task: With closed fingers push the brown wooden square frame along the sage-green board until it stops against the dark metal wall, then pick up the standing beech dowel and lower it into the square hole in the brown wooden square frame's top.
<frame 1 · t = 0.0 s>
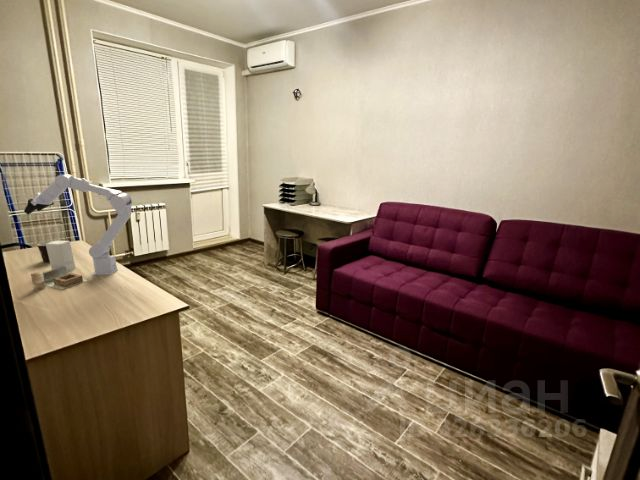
hand: (31, 211, 162), 32 cm above the table, tool tilted 50°, fingers open, 7 cm apart
dowel: (39, 289, 153), on the table
wall: (55, 279, 163), resting on board
skincare box: (63, 271, 175), on the table
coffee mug: (49, 261, 188), on the table
board: (64, 283, 161), on the table
brown wooden square frame: (68, 279, 159), point 2 cm above the table, slide at 0.0 cm
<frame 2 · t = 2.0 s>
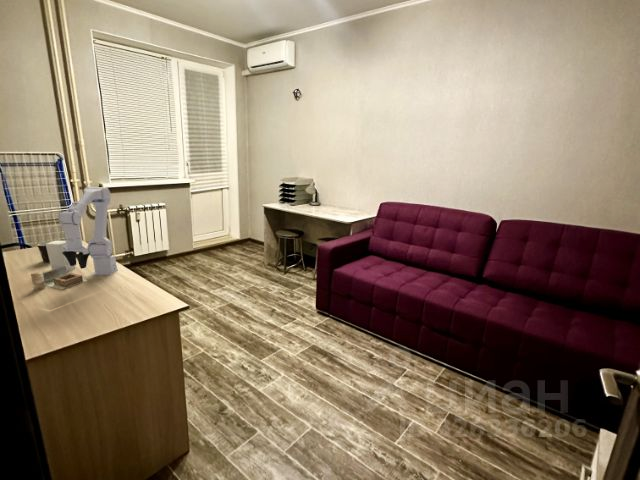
hand: (78, 266, 154), 10 cm above the table, tool pointing down, fingers open, 6 cm apart
nothing on the table moved.
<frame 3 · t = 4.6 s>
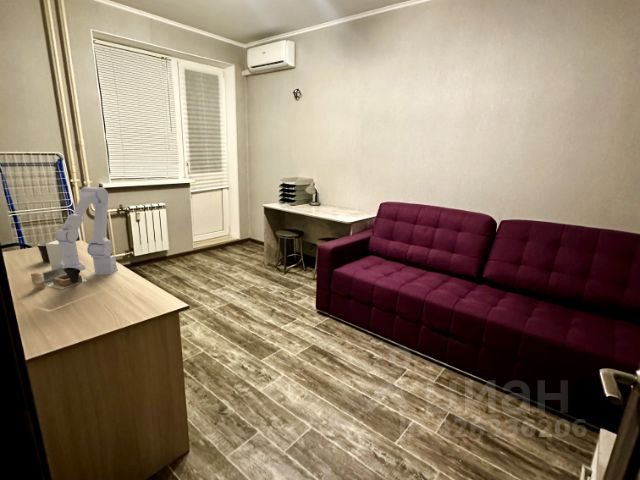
hand: (75, 282, 158), 2 cm above the table, tool pointing down, fingers closed
brown wooden square frame: (67, 279, 159), point 2 cm above the table, slide at 0.6 cm, touching gripper
everything else where it was.
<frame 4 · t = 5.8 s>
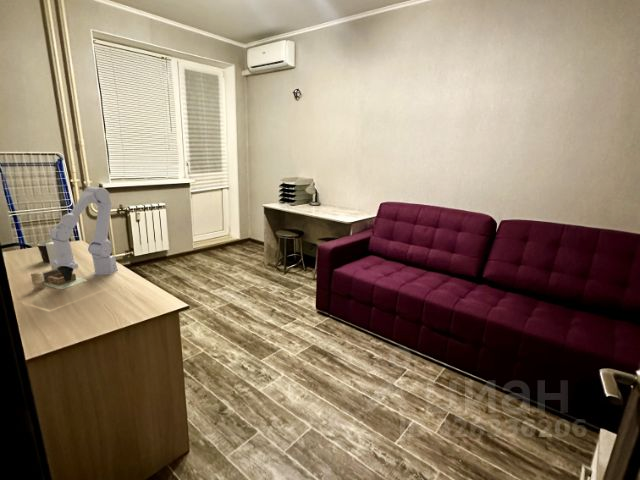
hand: (68, 280, 159), 2 cm above the table, tool pointing down, fingers closed
brown wooden square frame: (61, 278, 161), point 2 cm above the table, slide at 5.0 cm, touching gripper, wall
everything else where it was.
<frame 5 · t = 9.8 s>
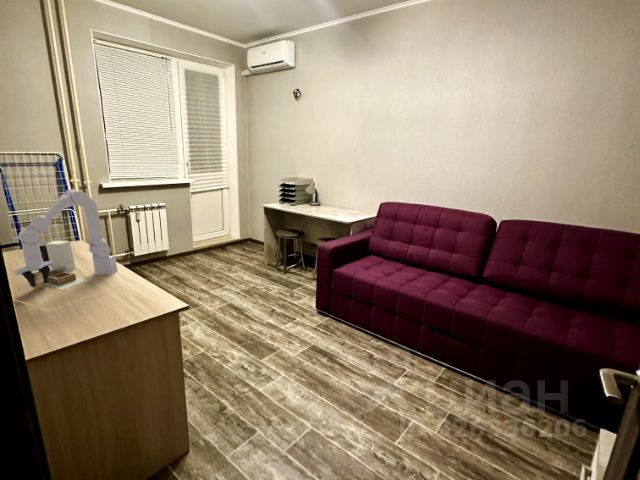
hand: (38, 284, 152), 2 cm above the table, tool pointing down, fingers closed on dowel, 4 cm apart
dowel: (39, 289, 153), on the table, touching gripper
brown wooden square frame: (61, 278, 161), point 2 cm above the table, slide at 5.0 cm, touching wall
everything else where it was.
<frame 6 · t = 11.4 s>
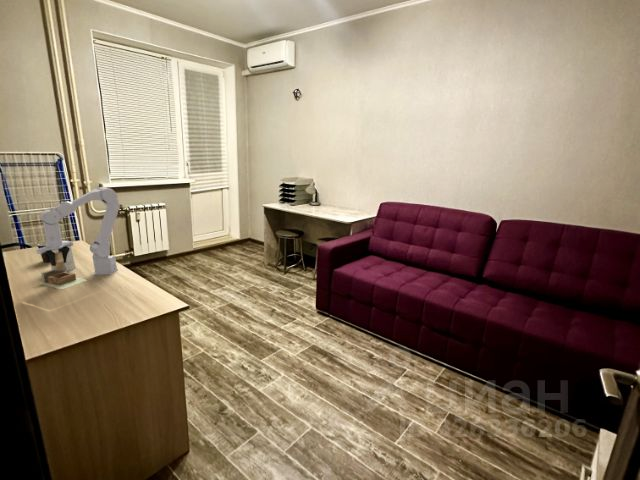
hand: (58, 264, 159), 9 cm above the table, tool pointing down, fingers closed on dowel, 4 cm apart
dowel: (59, 268, 159), point 7 cm above the table, touching gripper
everything else where it was.
when the fingers open (4 cm above the table, at t = 12.9 s): dowel drops 1 cm, resting on board.
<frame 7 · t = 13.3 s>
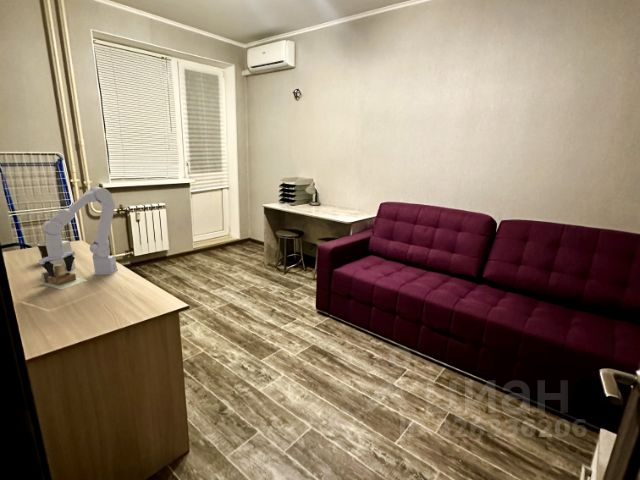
hand: (60, 273, 160), 4 cm above the table, tool pointing down, fingers open, 7 cm apart
dowel: (62, 281, 161), point 1 cm above the table, touching board
everything else where it was.
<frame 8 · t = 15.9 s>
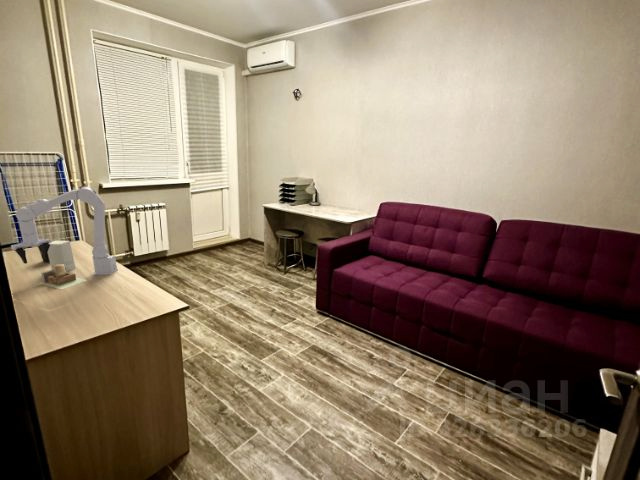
hand: (35, 260, 159), 10 cm above the table, tool pointing down, fingers open, 7 cm apart
nothing on the table moved.
at the end: brown wooden square frame slide at 5.0 cm; dowel 0.0 cm from the brown wooden square frame (horizontally); dowel point 0.6 cm above the table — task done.
